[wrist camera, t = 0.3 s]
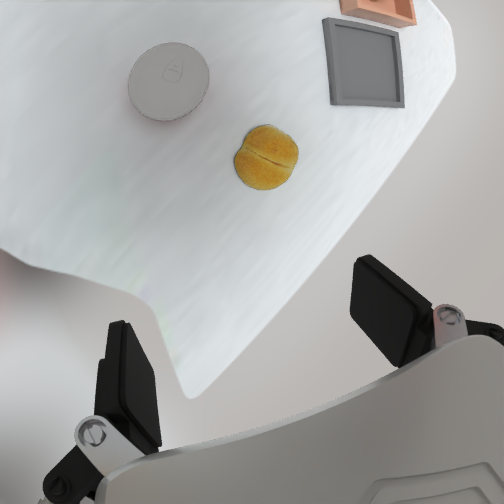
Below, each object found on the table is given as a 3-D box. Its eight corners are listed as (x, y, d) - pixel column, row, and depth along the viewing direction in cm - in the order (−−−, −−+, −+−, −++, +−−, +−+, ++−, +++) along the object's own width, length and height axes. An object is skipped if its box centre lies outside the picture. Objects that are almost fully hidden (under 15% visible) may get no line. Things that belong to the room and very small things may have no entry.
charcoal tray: (322, 20, 32) (328, 17, 31) (391, 33, 35) (398, 32, 34) (330, 104, 39) (337, 104, 37) (397, 107, 42) (404, 108, 40)
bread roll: (224, 174, 40) (230, 179, 36) (254, 117, 37) (264, 117, 34) (273, 197, 43) (284, 205, 40) (302, 144, 41) (315, 148, 37)
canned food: (200, 64, 32) (215, 45, 22) (193, 121, 35) (204, 123, 26) (141, 61, 29) (133, 40, 20) (134, 120, 33) (123, 121, 23)
